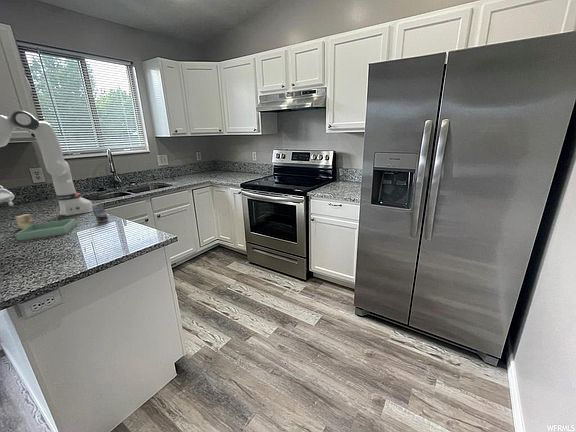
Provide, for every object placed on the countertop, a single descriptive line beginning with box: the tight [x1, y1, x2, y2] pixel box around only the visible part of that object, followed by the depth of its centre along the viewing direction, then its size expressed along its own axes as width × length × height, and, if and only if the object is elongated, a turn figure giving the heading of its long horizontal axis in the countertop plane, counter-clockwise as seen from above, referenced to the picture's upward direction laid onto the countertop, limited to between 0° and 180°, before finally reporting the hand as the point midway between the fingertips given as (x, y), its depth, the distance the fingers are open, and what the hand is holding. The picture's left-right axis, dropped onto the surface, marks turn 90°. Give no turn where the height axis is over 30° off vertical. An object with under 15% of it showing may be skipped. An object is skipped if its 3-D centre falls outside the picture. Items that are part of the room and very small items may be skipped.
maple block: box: [14, 213, 35, 230], centre depth 164 cm, size 5×5×8 cm
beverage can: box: [92, 202, 108, 223], centre depth 169 cm, size 6×7×12 cm
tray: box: [14, 218, 78, 242], centre depth 155 cm, size 22×18×4 cm
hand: (3, 207), depth 163 cm, fingers open, 8 cm apart
